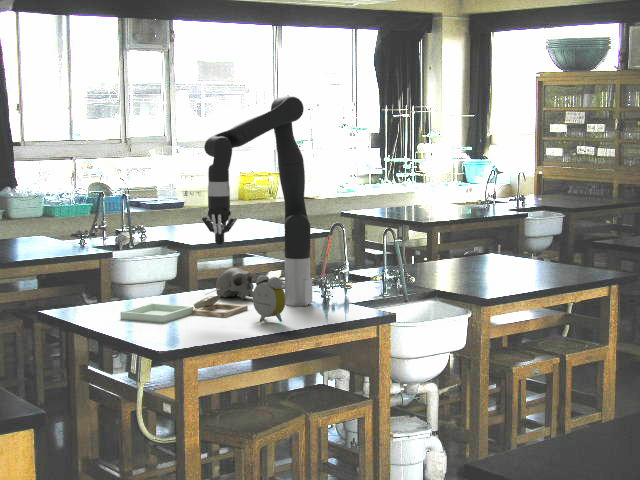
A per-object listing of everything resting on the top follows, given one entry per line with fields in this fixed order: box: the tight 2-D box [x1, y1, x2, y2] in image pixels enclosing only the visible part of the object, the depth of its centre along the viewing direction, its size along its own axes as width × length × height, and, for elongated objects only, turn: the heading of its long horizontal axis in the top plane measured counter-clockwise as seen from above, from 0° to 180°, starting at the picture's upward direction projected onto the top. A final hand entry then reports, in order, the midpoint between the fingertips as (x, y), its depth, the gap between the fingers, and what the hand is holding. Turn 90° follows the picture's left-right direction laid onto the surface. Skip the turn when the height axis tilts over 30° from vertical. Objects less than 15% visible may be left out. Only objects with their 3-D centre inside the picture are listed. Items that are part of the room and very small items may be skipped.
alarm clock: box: [252, 274, 286, 323], centre depth 346 cm, size 12×7×15 cm, turn 44°
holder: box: [191, 302, 249, 318], centre depth 363 cm, size 13×16×2 cm
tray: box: [119, 302, 194, 324], centre depth 355 cm, size 17×19×2 cm
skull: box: [215, 267, 255, 300], centre depth 393 cm, size 12×18×12 cm, turn 46°
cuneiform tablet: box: [193, 288, 221, 309], centre depth 368 cm, size 7×4×12 cm
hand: (219, 244), depth 361 cm, fingers closed
